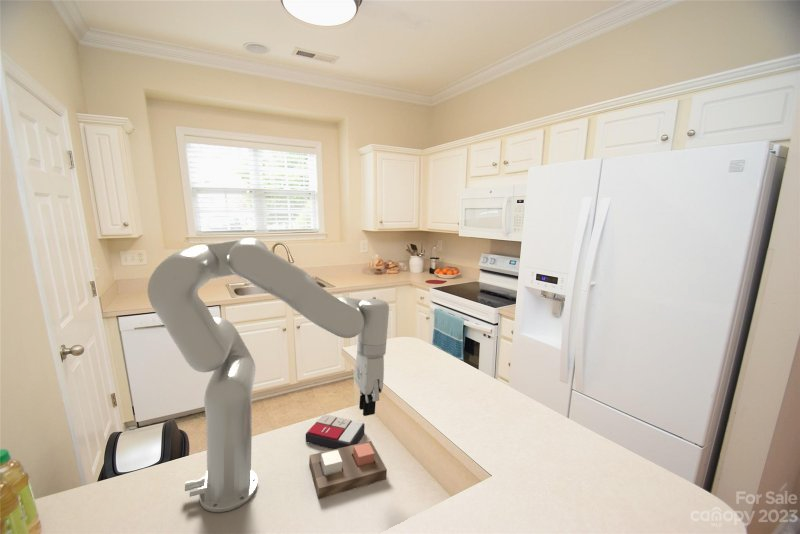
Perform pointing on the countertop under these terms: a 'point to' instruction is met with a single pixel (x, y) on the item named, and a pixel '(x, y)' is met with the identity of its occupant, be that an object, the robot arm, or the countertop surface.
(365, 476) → the key panel
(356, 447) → the salmon pink key
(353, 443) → the calculator
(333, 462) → the white key
